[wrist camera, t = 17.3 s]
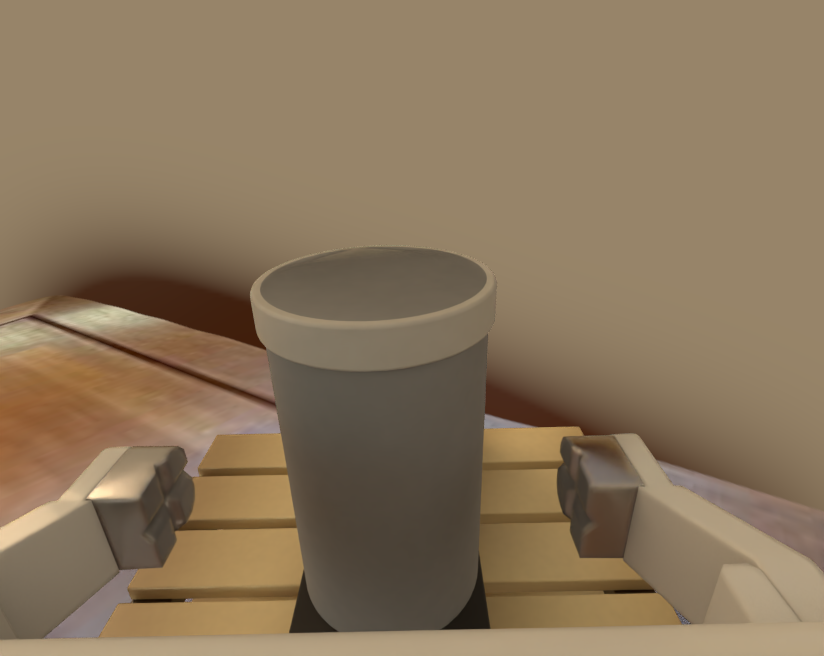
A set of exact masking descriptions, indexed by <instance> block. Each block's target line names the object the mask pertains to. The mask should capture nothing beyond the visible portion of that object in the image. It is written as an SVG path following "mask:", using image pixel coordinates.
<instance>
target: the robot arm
mask: <svg viewBox="0 0 824 656" xmlns="http://www.w3.org/2000/svg"><path fill="white" fill-rule="evenodd" d="M560 454H561V457H562V459H563V461H564V463H563V464H562V465H561V466H560V467H559V468H558V470H557V481H556V482H557V495H558V499H559V503H560V507H561V509H562V512H563V514H564V515H565V516H567V517H568V518H569V519H570V520H571V523H570V534H571V536H572V539H573V541H574V544H575V547H576V549H577V552H578V554H579V557H580V558H623V561H624V562H625V563H626V564H628V565H629V566H630V567H631V568H632V569H633V570H634V571H635V572H636V573H637V574H638V575H639V576H640V577H641V578H643V579H644V580H645V581H646V582H647V583H648V584H649V585H650V586H651V587H652V588H653V589H654V590H655V591H657V592H658V593H659V594H660V595H661V596H662V597H663V598H664V599H665V600H666V601H667V602H668V603H669V604H671V605H672V606H673V607H674V608H675V609H676V610H677V611H678V612H679V613H680V614H681V615H682V616H683V617H685V618H686V619H687V620H688V621H689V622H690V623H691V624H689V625H644V626H600V627H557V628H510V629H462V630H414V631H369V632H324V633H279V634H235V635H189V636H144V637H99V638H54V639H43V638H44V637H45V636H46V635H47V634H49V633H50V632H51V631H52V630H53V629H54V628H56V627H57V626H58V625H59V624H60V623H61V622H63V621H64V620H65V619H66V618H67V617H68V616H70V615H71V614H72V613H73V612H74V611H75V610H76V609H78V608H79V607H80V606H81V605H82V604H83V603H85V602H86V601H87V600H88V599H89V598H90V597H92V596H93V595H94V594H95V593H96V592H97V591H99V590H100V589H101V588H102V587H103V586H104V585H106V584H107V583H108V582H109V581H110V580H111V579H113V578H114V577H115V576H116V575H117V574H118V573H119V572H120V571H119V570H129V569H148V568H163V566H164V564H165V562H166V560H167V558H168V557H169V555H170V553H171V551H172V549H173V547H174V546H175V544H176V542H177V538H176V534H175V531H176V530H178V529H179V528H180V527H182V526H183V525H185V524H186V523H187V521H188V519H189V517H190V515H191V513H192V511H193V506H194V502H195V486H194V482H193V478H192V477H191V476H189V475H188V474H187V473H186V472H185V471H184V470H183V469H184V467H185V466H186V464H187V462H188V461H187V458H186V455H185V452H184V449H182V448H181V447H179V446H134V447H109V448H107V449H104V450H103V451H102V452H101V453H100V454H99V455H98V456H97V457H96V459H95V460H94V461H93V462H92V463H91V464H90V465H89V466H88V467H87V469H86V470H85V471H84V472H83V473H82V474H81V475H80V476H79V477H78V478H77V480H76V481H75V482H74V483H73V484H72V485H71V486H70V487H69V488H68V490H67V491H66V492H65V493H64V494H63V495H62V496H61V497H60V498H59V500H58V501H49V502H47V503H45V504H44V505H42V506H40V507H38V508H36V509H34V510H32V511H31V512H29V513H27V514H25V515H23V516H21V517H19V518H18V519H16V520H14V521H12V522H10V523H8V524H7V525H5V526H3V527H1V528H0V656H824V573H823V572H822V571H821V570H820V568H819V567H818V566H817V565H816V564H815V563H814V562H813V561H812V560H811V559H809V558H807V557H805V556H804V555H802V554H800V553H798V552H797V551H795V550H793V549H791V548H790V547H788V546H786V545H784V544H783V543H781V542H779V541H777V540H776V539H774V538H772V537H770V536H769V535H767V534H765V533H763V532H762V531H760V530H758V529H756V528H755V527H753V526H751V525H749V524H748V523H746V522H744V521H742V520H741V519H739V518H737V517H735V516H734V515H732V514H730V513H728V512H727V511H725V510H723V509H721V508H720V507H718V506H716V505H714V504H713V503H711V502H709V501H707V500H706V499H704V498H702V497H700V496H699V495H697V494H695V493H693V492H692V491H690V490H688V489H686V488H685V487H683V486H674V485H673V484H672V482H671V481H670V479H669V478H668V477H667V475H666V474H665V472H664V471H663V469H662V468H661V467H660V465H659V464H658V462H657V461H656V460H655V458H654V457H653V455H652V454H651V452H650V451H649V450H648V448H647V447H646V445H645V444H644V443H643V441H642V440H641V438H640V437H639V436H638V435H637V434H635V433H627V434H611V435H600V436H567V437H563V438H562V441H561V445H560Z"/></svg>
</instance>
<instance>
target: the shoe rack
mask: <svg viewBox="0 0 824 656" xmlns="http://www.w3.org/2000/svg"><path fill="white" fill-rule="evenodd" d="M567 436H584V435H583V433H582V432H581V429H580V428H579V427H545V428H500V429H484V439H483V462H482V486H481V509H480V532H479V555H480V562H481V568H482V575H483V582H484V588H485V595H486V602H487V608H488V615H489V622H490V628H491V629H510V628H557V627H600V626H644V625H682V624H681V622H680V620H679V618H678V616H677V614H676V612H675V610H674V608H673V606H672V605H671V604H669V603H668V602H667V601H666V600H665V599H664V598H663V597H662V596H661V595H660V594H659V593H656V592H655V590H654V589H653V588H652V587H651V586H650V585H649V584H648V583H647V582H646V581H645V580H644V579H643V578H641V577H640V576H639V575H638V574H637V573H636V572H635V571H634V570H633V569H632V568H631V567H630V566H629V565H628V564H626V563H625V562H624V561H623V558H580V557H579V554H578V552H577V549H576V547H575V544H574V541H573V539H572V536H571V534H570V523H571V520H570V519H569V518H568V517H567V516H565V515H564V514H563V512H562V509H561V507H560V503H559V499H558V495H557V482H556V481H557V470H558V468H559V467H560V466H561V465H562V464H563V463H564V461H563V459H562V457H561V454H560V445H561V441H562V438H563V437H567ZM198 472H199V476H200V477H192V478H193V482H194V486H195V502H194V506H193V511H192V513H191V515H190V517H189V519H188V521H187V523H186V524H185V525H183V526H182V527H180V528H179V529H178V530H176V531H175V534H176V538H177V542H176V544H175V546H174V547H173V549H172V551H171V553H170V555H169V557H168V558H167V560H166V562H165V564H164V566H163V568H148V569H138V571H137V573H136V574H135V576H134V578H133V579H132V581H131V583H130V585H129V586H128V592H129V595H130V597H131V599H133V600H132V602H131V603H120V604H118V605H117V607H116V608H115V610H114V612H113V613H112V615H111V617H110V619H109V620H108V622H107V624H106V625H105V627H104V629H103V631H102V632H101V634H100V636H99V637H144V636H189V635H235V634H279V633H289V630H290V626H291V622H292V617H293V613H294V609H295V604H296V600H297V596H298V592H299V587H300V583H301V579H302V574H303V570H304V566H303V560H302V555H301V549H300V543H299V537H298V531H297V525H296V519H295V514H294V508H293V502H292V496H291V490H290V484H289V478H288V472H287V467H286V461H285V455H284V449H283V443H282V437H281V433H279V434H235V435H217V436H216V438H215V440H214V441H213V443H212V445H211V446H210V448H209V450H208V452H207V453H206V455H205V457H204V458H203V460H202V462H201V463H200V465H199V467H198ZM217 529H224V530H217ZM190 598H193V600H192V602H185V599H190ZM99 637H98V638H99Z"/></svg>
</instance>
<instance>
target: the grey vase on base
mask: <svg viewBox="0 0 824 656" xmlns="http://www.w3.org/2000/svg"><path fill="white" fill-rule="evenodd" d="M496 288H497V281H496V277H495V275H494V274H493V272H492V270H491V269H490V268H489V267H487V266H486V265H485V264H483V263H482V262H480V261H478V260H476V259H474V258H471V257H468V256H465V255H462V254H459V253H455V252H452V251H446V250H442V249H435V248H428V247H418V246H399V245H383V246H382V245H381V246H363V247H352V248H343V249H337V250H330V251H325V252H320V253H316V254H311V255H307V256H304V257H300V258H297V259H294V260H291V261H288V262H286V263H283V264H281V265H279V266H276V267H274V268H273V269H271V270H269V271H267V272H266V273H264V274H263V275H261V276H260V277H259V278H258V279H257V280H256V281H255V283H254V284H253V286H252V289H251V293H250V297H251V303H252V309H253V315H254V320H255V327H256V332H257V335H258V337H259V339H260V341H261V342H262V343H263V344H264V345H265V346H266V349H267V355H268V361H269V367H270V373H271V379H272V384H273V390H274V396H275V402H276V408H277V414H278V420H279V426H280V431H281V437H282V443H283V449H284V455H285V461H286V467H287V472H288V478H289V484H290V490H291V496H292V502H293V508H294V514H295V519H296V525H297V531H298V537H299V543H300V549H301V555H302V560H303V566H304V570H303V574H302V579H301V583H300V587H299V592H298V596H297V600H296V604H295V609H294V613H293V617H292V622H291V626H290V630H289V633H324V632H369V631H414V630H462V629H491V628H490V622H489V615H488V608H487V602H486V595H485V588H484V582H483V575H482V568H481V562H480V555H479V532H480V509H481V486H482V462H483V439H484V415H485V392H486V368H487V344H488V332H489V331H490V330H491V328H492V325H493V323H494V321H495V308H496Z"/></svg>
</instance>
